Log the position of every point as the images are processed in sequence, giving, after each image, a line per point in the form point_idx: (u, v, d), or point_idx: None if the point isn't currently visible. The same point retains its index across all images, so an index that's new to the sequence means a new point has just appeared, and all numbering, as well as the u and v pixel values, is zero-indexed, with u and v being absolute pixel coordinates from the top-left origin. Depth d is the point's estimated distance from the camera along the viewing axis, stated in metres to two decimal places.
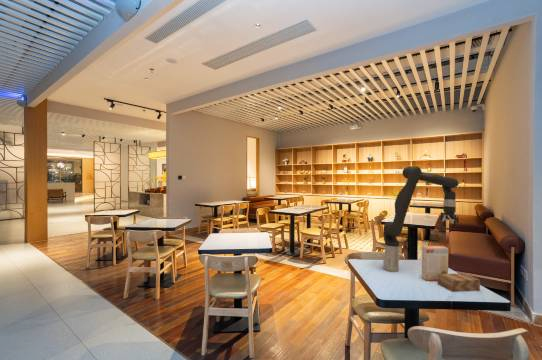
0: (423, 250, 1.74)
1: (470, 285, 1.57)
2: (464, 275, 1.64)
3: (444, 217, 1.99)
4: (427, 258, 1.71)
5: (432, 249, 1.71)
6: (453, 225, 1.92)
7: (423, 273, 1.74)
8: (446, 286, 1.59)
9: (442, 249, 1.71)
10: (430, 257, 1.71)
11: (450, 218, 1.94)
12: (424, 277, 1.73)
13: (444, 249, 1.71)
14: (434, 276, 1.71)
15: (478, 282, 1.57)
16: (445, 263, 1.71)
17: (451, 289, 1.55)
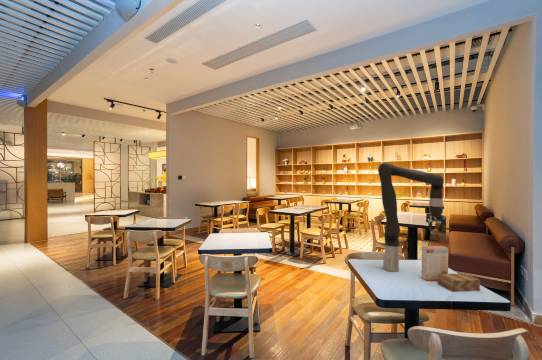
0: (423, 250, 1.74)
1: (470, 285, 1.57)
2: (464, 275, 1.64)
3: (430, 218, 1.76)
4: (427, 258, 1.71)
5: (432, 249, 1.71)
6: (440, 228, 1.69)
7: (423, 273, 1.74)
8: (446, 286, 1.59)
9: (442, 249, 1.71)
10: (430, 257, 1.71)
11: (436, 220, 1.70)
12: (424, 277, 1.73)
13: (444, 249, 1.71)
14: (434, 276, 1.71)
15: (478, 282, 1.57)
16: (445, 263, 1.71)
17: (451, 289, 1.55)
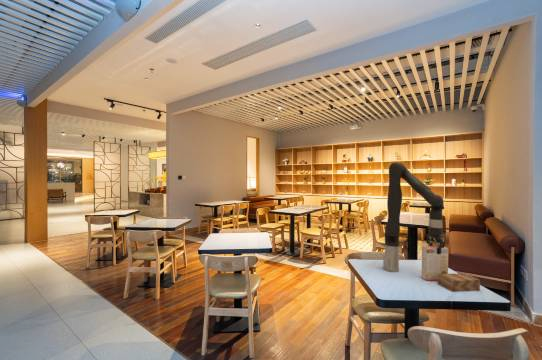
0: (423, 250, 1.74)
1: (470, 285, 1.57)
2: (464, 275, 1.64)
3: (430, 239, 1.75)
4: (427, 258, 1.71)
5: (432, 249, 1.71)
6: (438, 250, 1.70)
7: (423, 273, 1.74)
8: (446, 286, 1.59)
9: (442, 249, 1.71)
10: (430, 257, 1.71)
11: (436, 241, 1.71)
12: (424, 277, 1.73)
13: (444, 249, 1.71)
14: (433, 276, 1.71)
15: (478, 282, 1.57)
16: (445, 263, 1.71)
17: (451, 289, 1.55)
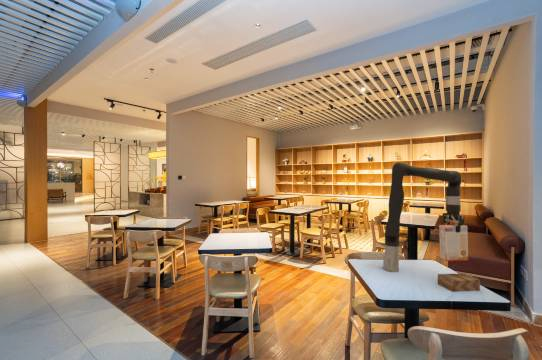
0: (441, 229, 1.65)
1: (470, 285, 1.57)
2: (464, 275, 1.64)
3: (447, 218, 1.67)
4: (445, 237, 1.62)
5: (451, 227, 1.62)
6: (457, 228, 1.61)
7: (442, 253, 1.65)
8: (446, 286, 1.59)
9: (461, 227, 1.62)
10: (449, 236, 1.62)
11: (454, 219, 1.62)
12: (443, 257, 1.64)
13: (463, 227, 1.62)
14: (453, 256, 1.62)
15: (478, 282, 1.57)
16: (465, 242, 1.62)
17: (451, 289, 1.55)
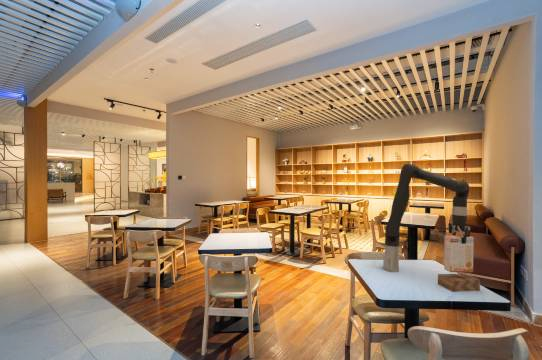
0: (446, 239, 1.62)
1: (470, 285, 1.57)
2: (464, 275, 1.64)
3: (453, 228, 1.63)
4: (451, 248, 1.59)
5: (456, 238, 1.59)
6: (463, 239, 1.58)
7: (446, 264, 1.62)
8: (446, 286, 1.59)
9: (467, 238, 1.59)
10: (454, 247, 1.59)
11: (460, 230, 1.59)
12: (447, 268, 1.61)
13: (469, 238, 1.59)
14: (458, 267, 1.59)
15: (478, 282, 1.57)
16: (470, 253, 1.59)
17: (451, 289, 1.55)
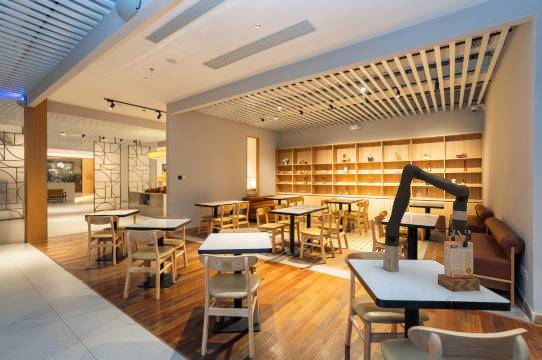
0: (446, 245, 1.62)
1: (470, 285, 1.57)
2: None
3: (453, 232, 1.64)
4: (450, 254, 1.59)
5: (456, 244, 1.59)
6: (464, 243, 1.57)
7: (446, 270, 1.62)
8: (446, 286, 1.59)
9: None
10: (454, 253, 1.59)
11: (461, 234, 1.58)
12: (447, 274, 1.61)
13: (469, 244, 1.59)
14: (458, 273, 1.59)
15: (478, 282, 1.57)
16: (470, 259, 1.59)
17: (451, 289, 1.55)
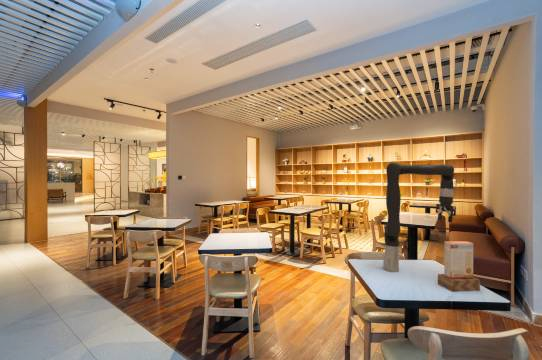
0: (446, 245, 1.62)
1: (470, 285, 1.57)
2: None
3: (440, 209, 1.76)
4: (451, 254, 1.59)
5: (456, 244, 1.59)
6: (449, 218, 1.69)
7: (446, 270, 1.61)
8: (446, 286, 1.59)
9: (467, 244, 1.59)
10: (454, 253, 1.59)
11: (446, 210, 1.70)
12: (447, 275, 1.61)
13: (469, 244, 1.59)
14: (458, 273, 1.59)
15: (478, 282, 1.57)
16: (470, 259, 1.59)
17: (451, 289, 1.55)
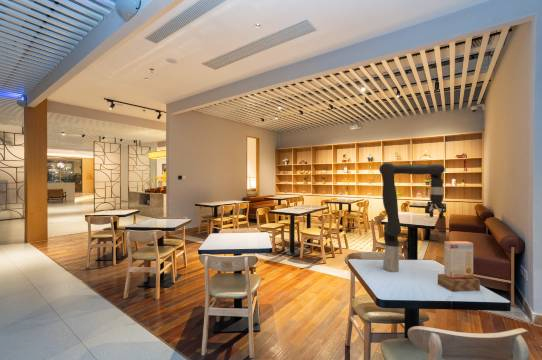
0: (446, 245, 1.62)
1: (470, 285, 1.57)
2: None
3: (431, 206, 1.85)
4: (451, 254, 1.59)
5: (456, 244, 1.59)
6: (440, 215, 1.78)
7: (446, 270, 1.61)
8: (446, 286, 1.59)
9: (467, 244, 1.59)
10: (454, 253, 1.59)
11: (437, 207, 1.79)
12: (447, 275, 1.61)
13: (469, 244, 1.59)
14: (458, 273, 1.59)
15: (478, 282, 1.57)
16: (470, 259, 1.59)
17: (451, 289, 1.55)
